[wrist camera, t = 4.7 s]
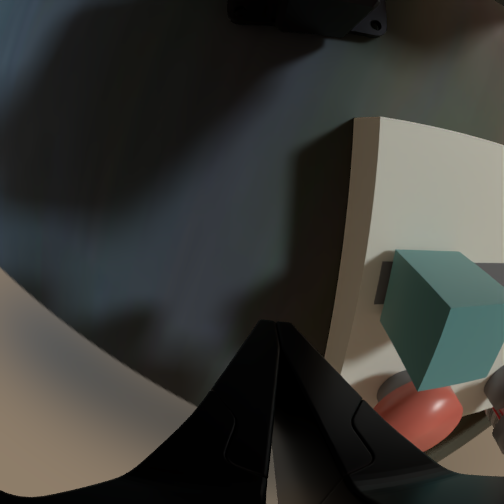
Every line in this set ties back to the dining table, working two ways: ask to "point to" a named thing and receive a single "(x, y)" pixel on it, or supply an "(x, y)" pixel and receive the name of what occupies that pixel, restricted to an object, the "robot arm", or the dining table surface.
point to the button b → (499, 433)
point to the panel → (412, 241)
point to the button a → (421, 413)
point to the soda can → (494, 415)
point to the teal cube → (443, 317)
